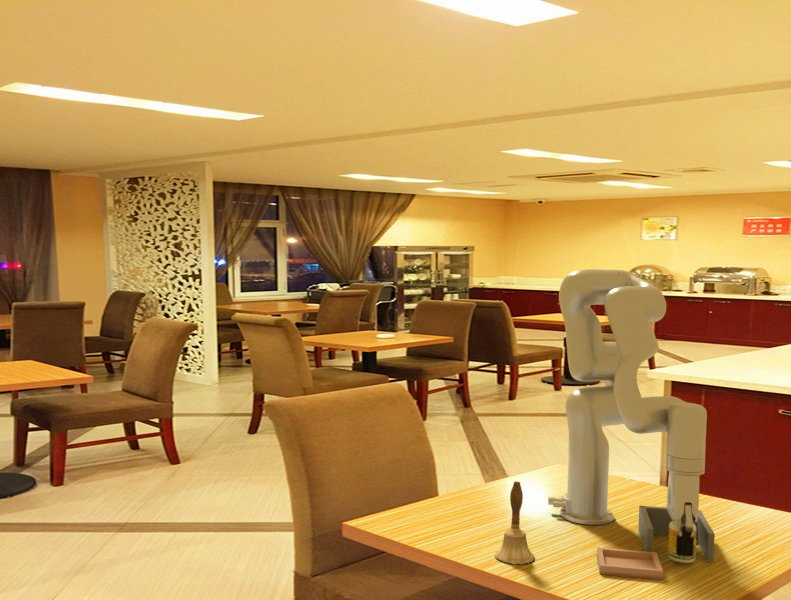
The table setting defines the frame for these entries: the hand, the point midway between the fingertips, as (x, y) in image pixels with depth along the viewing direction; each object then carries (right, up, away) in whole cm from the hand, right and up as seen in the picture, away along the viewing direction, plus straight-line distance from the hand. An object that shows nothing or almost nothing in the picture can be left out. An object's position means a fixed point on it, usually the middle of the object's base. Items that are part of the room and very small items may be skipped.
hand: (681, 548), depth 163 cm
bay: (+2, -2, +10) cm, 10 cm away
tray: (-12, -3, -3) cm, 12 cm away
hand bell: (-34, -3, +2) cm, 34 cm away
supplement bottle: (0, -2, 0) cm, 2 cm away
